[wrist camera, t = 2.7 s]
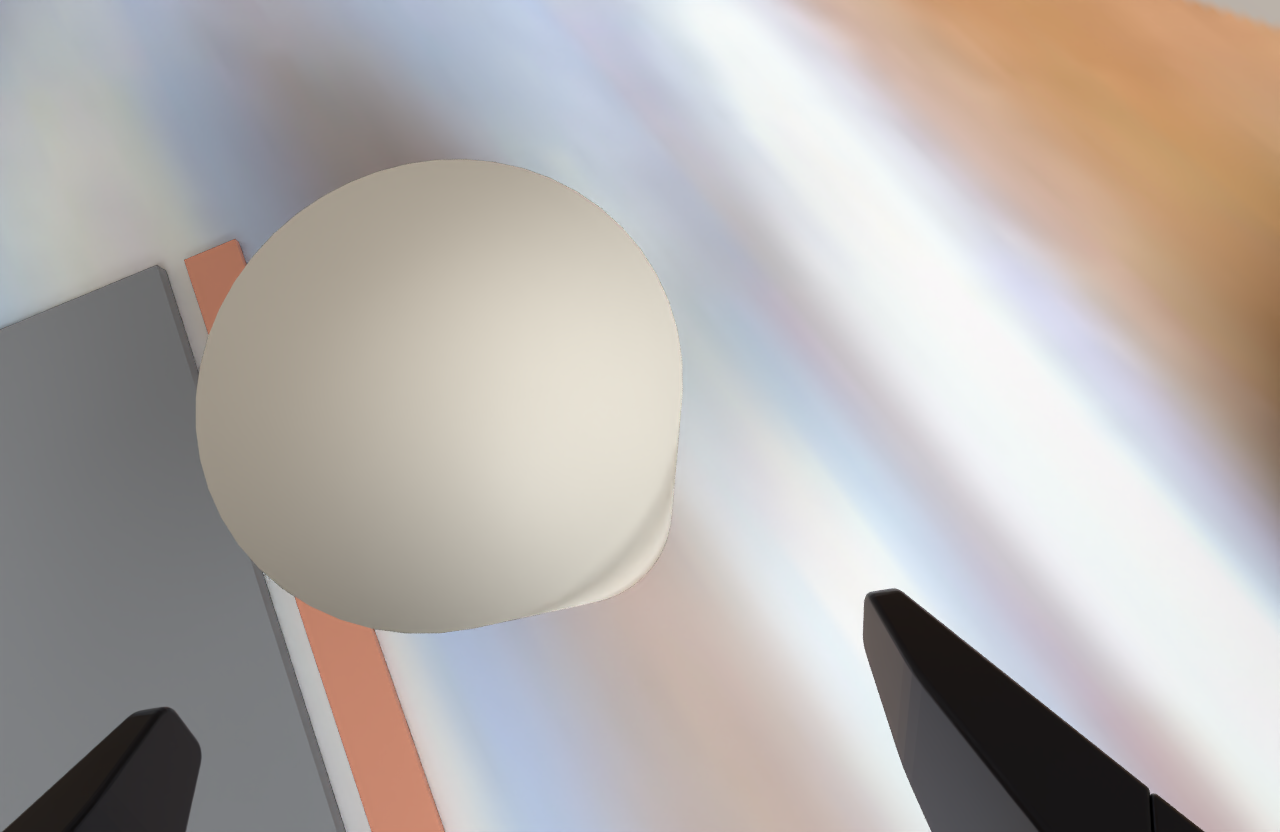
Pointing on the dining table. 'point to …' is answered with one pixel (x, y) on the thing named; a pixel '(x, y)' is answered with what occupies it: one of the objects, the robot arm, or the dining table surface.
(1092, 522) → the dining table surface
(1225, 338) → the dining table surface
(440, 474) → the cream teardrop shape
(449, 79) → the dining table surface
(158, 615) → the mat
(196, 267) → the strip
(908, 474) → the dining table surface
